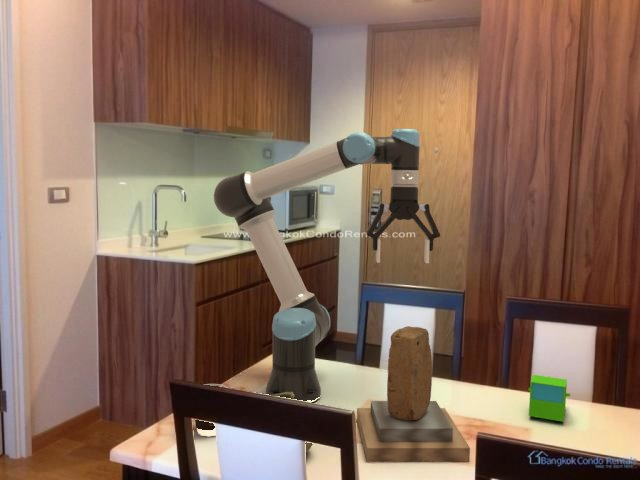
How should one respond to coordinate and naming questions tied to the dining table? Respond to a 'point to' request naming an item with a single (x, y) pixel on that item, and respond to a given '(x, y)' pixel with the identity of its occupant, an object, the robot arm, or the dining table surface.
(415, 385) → the block
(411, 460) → the tower base
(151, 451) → the dining table surface
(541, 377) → the toy car
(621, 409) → the dining table surface
